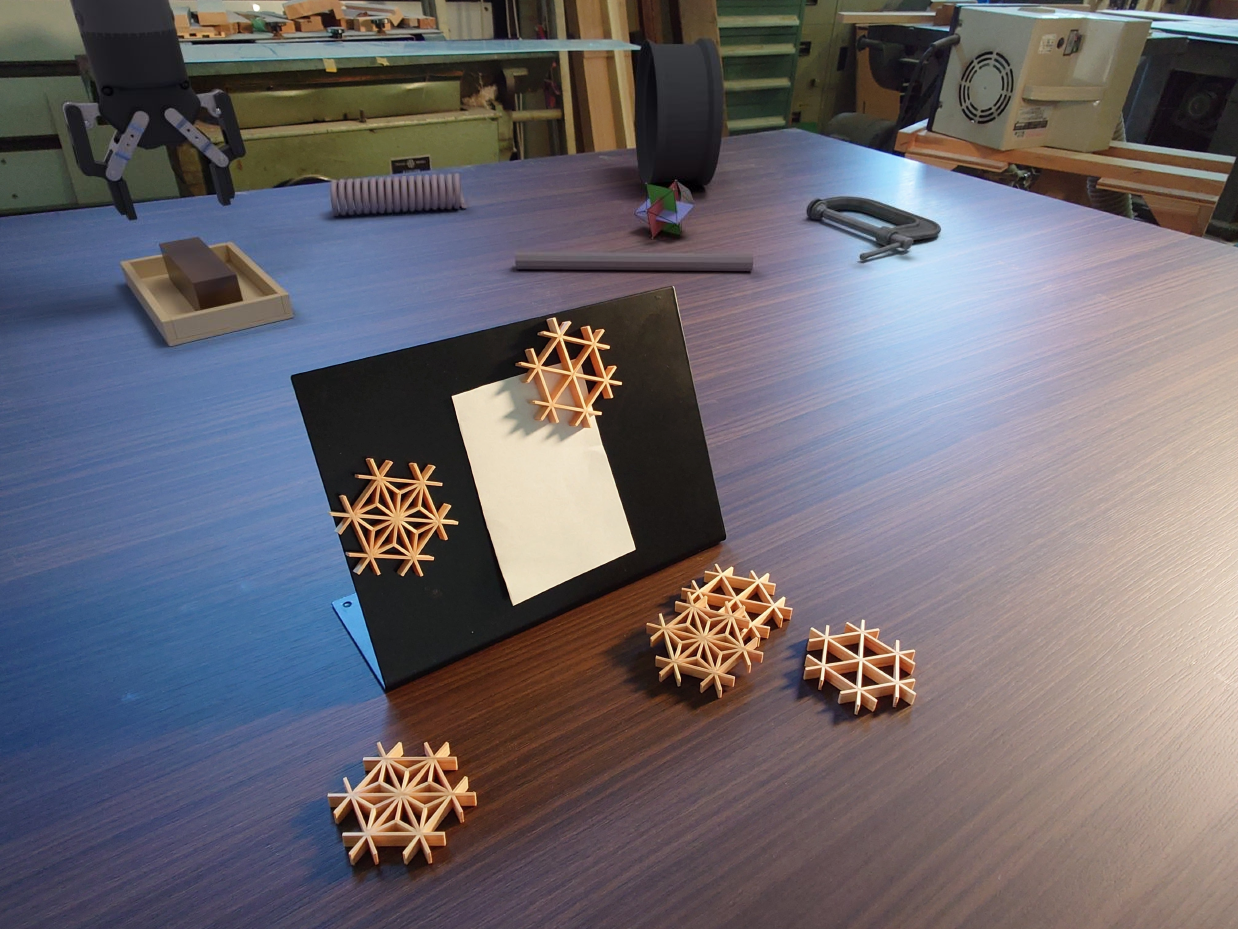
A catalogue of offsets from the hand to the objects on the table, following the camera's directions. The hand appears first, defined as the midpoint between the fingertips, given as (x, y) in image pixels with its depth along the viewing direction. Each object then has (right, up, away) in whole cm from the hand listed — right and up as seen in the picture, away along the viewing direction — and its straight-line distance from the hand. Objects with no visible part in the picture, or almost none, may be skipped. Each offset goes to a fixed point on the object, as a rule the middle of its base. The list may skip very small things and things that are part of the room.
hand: (179, 210), depth 79 cm
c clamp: (+76, +6, +27) cm, 81 cm away
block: (0, -7, +5) cm, 9 cm away
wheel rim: (+52, +18, +46) cm, 71 cm away
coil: (+13, +10, +32) cm, 36 cm away
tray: (0, -8, +5) cm, 9 cm away
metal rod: (+45, -3, +14) cm, 47 cm away
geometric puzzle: (+49, +5, +25) cm, 55 cm away
